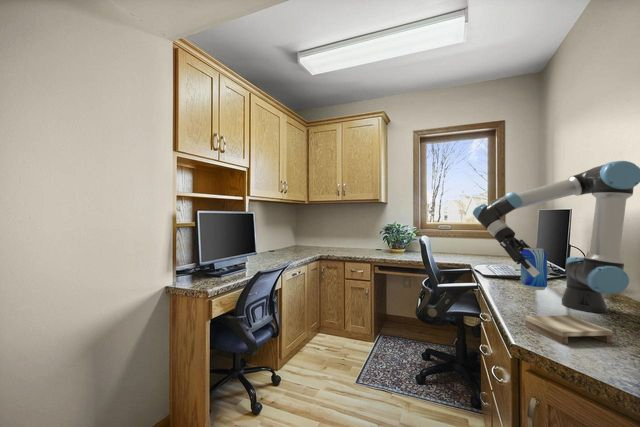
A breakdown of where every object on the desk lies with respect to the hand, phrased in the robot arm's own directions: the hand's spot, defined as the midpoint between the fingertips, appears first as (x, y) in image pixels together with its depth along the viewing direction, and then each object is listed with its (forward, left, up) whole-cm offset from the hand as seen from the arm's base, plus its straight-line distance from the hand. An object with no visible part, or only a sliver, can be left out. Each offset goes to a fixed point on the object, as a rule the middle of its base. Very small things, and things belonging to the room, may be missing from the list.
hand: (543, 274), depth 108 cm
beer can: (+1, -3, -6) cm, 7 cm away
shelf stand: (+3, +12, -19) cm, 22 cm away
